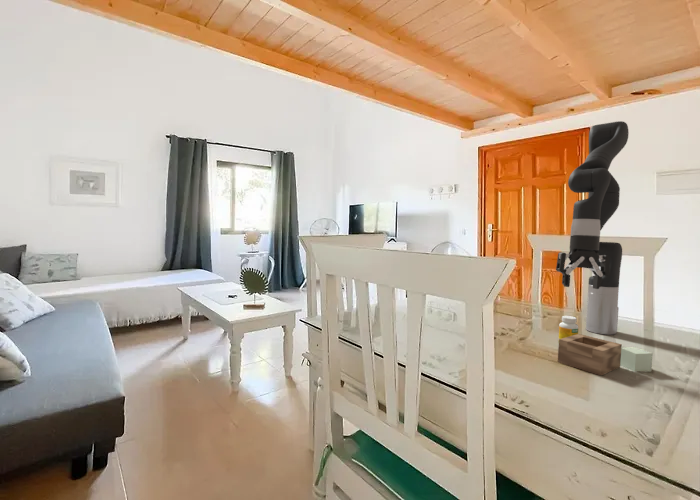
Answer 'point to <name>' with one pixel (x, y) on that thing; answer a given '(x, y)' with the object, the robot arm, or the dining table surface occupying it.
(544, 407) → the dining table surface
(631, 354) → the green cube
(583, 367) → the brown open box
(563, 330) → the supplement bottle
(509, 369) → the dining table surface
